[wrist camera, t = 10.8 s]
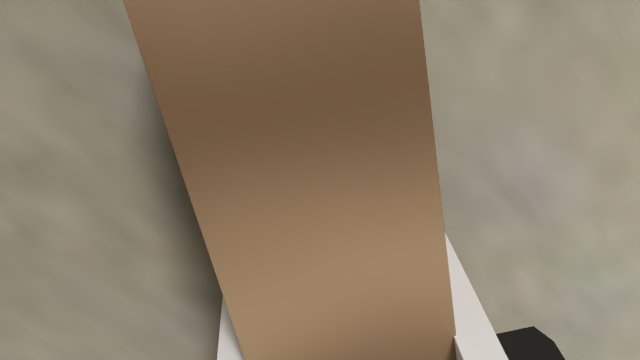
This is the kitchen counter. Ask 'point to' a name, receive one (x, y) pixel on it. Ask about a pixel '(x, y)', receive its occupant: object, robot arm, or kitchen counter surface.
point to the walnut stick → (309, 170)
